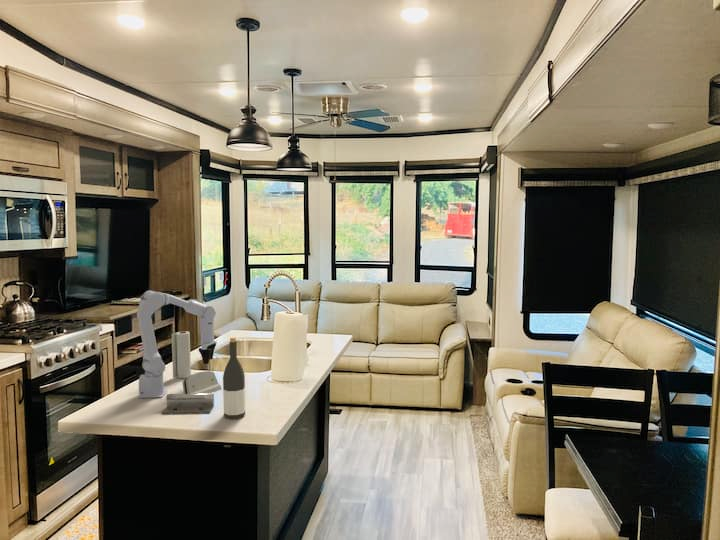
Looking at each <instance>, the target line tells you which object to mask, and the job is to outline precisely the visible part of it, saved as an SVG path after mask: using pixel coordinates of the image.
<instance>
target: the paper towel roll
mask: <svg viewBox="0 0 720 540" xmlns="http://www.w3.org/2000/svg"><path fill="white" fill-rule="evenodd" d="M190 333H191V332H190V331H187V330H186V331H178V332H174V333H171V353H172V355H171V357H172V358H171V359H172V379H175V378H178V379H186V378H188V377H189V376H191V375H192V367H191V366H192V364H191V363H192V362H191V359H192V358H191V334H190Z"/></svg>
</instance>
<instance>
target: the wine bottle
mask: <svg viewBox="0 0 720 540" xmlns="http://www.w3.org/2000/svg"><path fill="white" fill-rule="evenodd" d="M237 342H238V341H237V338H236V337H234V336H233V337H230V338H229V360H228V361H227V364H226V366H225V368H224V371H223V376H222V390H223V391H222V392H223V393H222V394H223V395H222V396H223V416H224V418H226V419H228V420H238V419H241V417H242V418H244V417H245V415H246V384H245V383H246V381H245V377H246V375H245V372H244V368H243V366H242V364H241V362H240V361H239V358H238V356H237V355H238V352H237V350H238V349H237Z"/></svg>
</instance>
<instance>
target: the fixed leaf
mask: <svg viewBox="0 0 720 540" xmlns="http://www.w3.org/2000/svg"><path fill="white" fill-rule="evenodd" d="M165 401H166V407H165V408H164V409H163V410H162V412H161V413H162V415H170V414H169V413H173V414H172V415H181V414H180V413H192V414H211V412H212V411H213V408H214V407H215V392H213V393H210V394H184V393H172V394H171V393H167V394H166V400H165Z"/></svg>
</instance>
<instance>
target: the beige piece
mask: <svg viewBox="0 0 720 540" xmlns="http://www.w3.org/2000/svg"><path fill="white" fill-rule="evenodd" d="M181 385H182V388H183V389H182V391H183V394H209V393H210V394H212V392H213V393H215V392H218V391H220V390H222V386H221V384H219V382H218V379H217V377H216V374H215V372H214V371H210V370H209V371H207V370H205V371H203V370H202V371H199V372H195V373H193V374H191V376H189V377H188V378H184V380H182V384H181Z"/></svg>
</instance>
